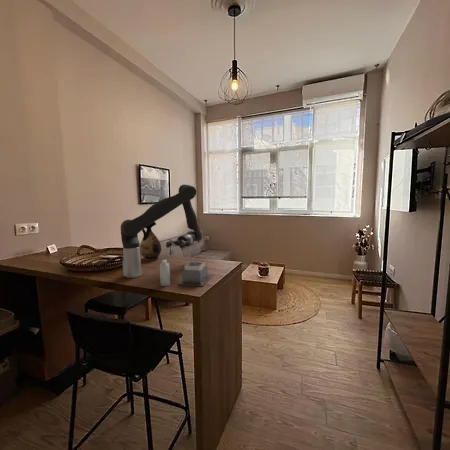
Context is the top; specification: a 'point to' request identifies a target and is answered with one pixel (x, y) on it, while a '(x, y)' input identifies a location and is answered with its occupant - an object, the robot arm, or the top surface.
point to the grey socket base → (195, 274)
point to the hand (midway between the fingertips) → (173, 246)
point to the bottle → (164, 273)
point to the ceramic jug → (150, 244)
